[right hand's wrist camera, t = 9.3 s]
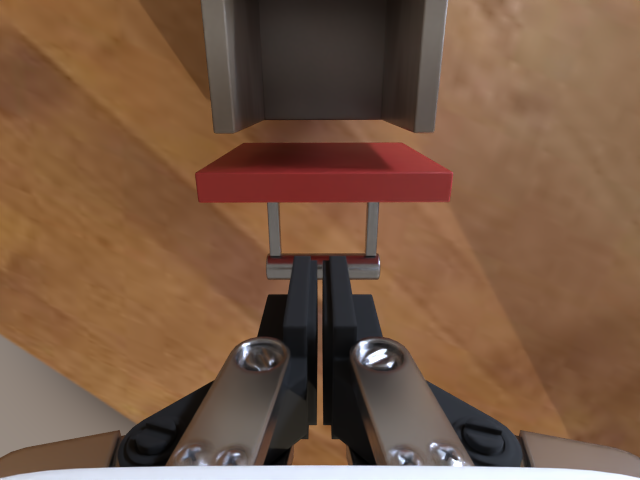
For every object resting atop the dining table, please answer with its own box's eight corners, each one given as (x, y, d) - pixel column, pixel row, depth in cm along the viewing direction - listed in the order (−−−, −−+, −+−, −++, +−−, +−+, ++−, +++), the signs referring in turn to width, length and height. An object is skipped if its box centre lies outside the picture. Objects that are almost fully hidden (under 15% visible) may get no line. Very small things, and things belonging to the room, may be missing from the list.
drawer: (394, 250, 26) (433, 332, 17) (250, 250, 26) (213, 332, 17) (424, -154, 18) (525, -394, 9) (221, -153, 18) (124, -392, 9)
